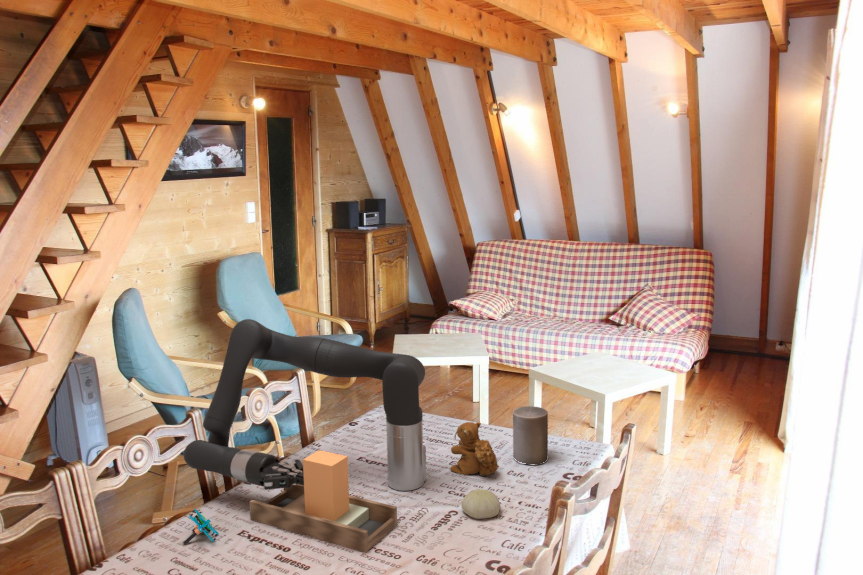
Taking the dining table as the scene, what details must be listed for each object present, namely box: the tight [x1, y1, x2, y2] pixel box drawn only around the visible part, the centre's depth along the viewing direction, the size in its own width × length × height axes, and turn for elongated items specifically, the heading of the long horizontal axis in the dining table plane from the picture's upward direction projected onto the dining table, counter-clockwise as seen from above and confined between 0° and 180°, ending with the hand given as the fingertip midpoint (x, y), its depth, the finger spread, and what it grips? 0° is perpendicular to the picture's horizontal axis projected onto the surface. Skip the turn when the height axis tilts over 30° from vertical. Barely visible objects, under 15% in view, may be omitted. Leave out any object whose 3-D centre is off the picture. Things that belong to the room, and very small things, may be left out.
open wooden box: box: [249, 484, 398, 554], centre depth 161 cm, size 32×13×4 cm, turn 62°
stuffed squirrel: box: [450, 421, 500, 476], centre depth 186 cm, size 10×14×13 cm
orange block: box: [302, 449, 350, 521], centre depth 159 cm, size 8×6×13 cm
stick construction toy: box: [182, 508, 220, 546], centre depth 155 cm, size 12×7×8 cm
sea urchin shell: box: [461, 488, 501, 520], centre depth 165 cm, size 9×8×8 cm
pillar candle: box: [512, 405, 549, 465], centre depth 194 cm, size 10×10×15 cm
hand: (312, 481), depth 161 cm, fingers closed
